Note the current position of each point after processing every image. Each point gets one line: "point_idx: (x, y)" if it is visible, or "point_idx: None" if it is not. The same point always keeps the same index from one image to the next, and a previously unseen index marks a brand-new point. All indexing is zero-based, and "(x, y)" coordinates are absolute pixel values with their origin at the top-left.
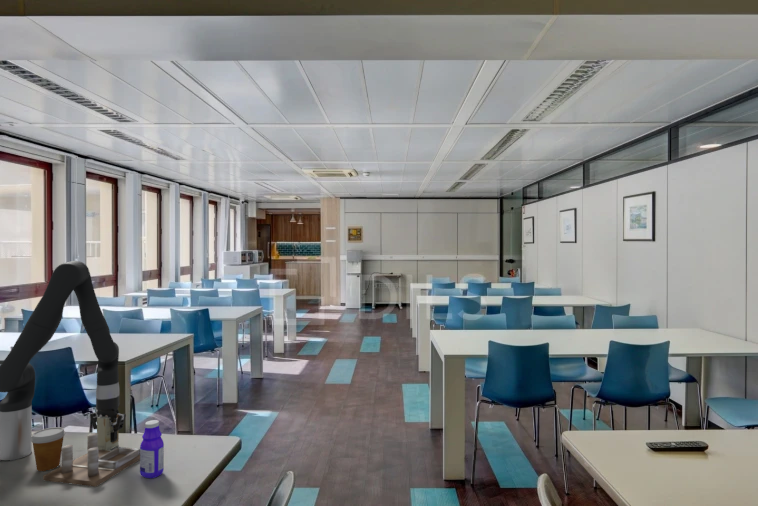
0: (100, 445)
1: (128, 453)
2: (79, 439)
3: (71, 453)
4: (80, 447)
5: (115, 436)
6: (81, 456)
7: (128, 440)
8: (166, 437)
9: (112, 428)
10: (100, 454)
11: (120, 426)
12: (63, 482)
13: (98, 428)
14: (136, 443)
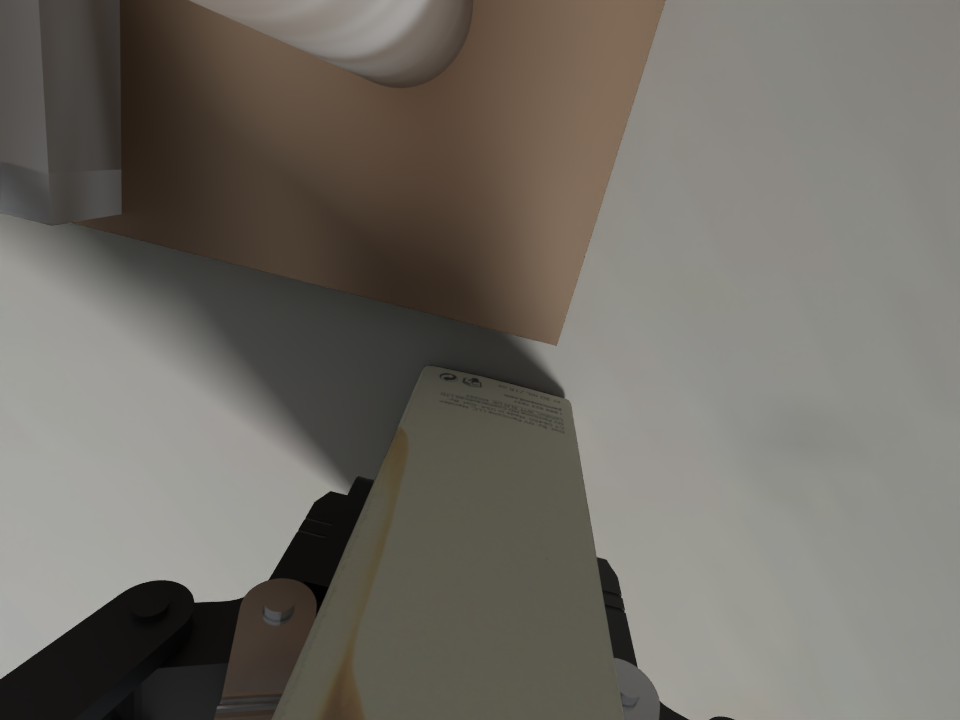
0: (505, 417)
1: None
2: (948, 712)
3: None
4: (843, 517)
5: (295, 545)
6: (630, 72)
7: None
8: (8, 656)
9: (245, 653)
10: (347, 145)
11: (111, 714)
12: None
13: (566, 661)
14: (214, 558)
